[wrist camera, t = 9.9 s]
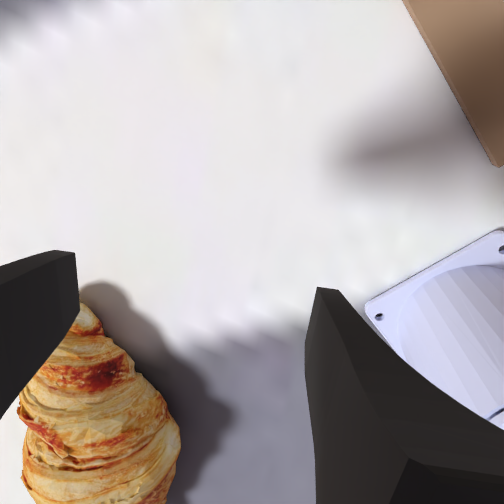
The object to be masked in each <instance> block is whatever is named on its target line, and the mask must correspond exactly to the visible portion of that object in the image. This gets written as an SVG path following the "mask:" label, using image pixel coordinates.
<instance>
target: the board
mask: <svg viewBox="0 0 504 504" xmlns="http://www.w3.org/2000/svg"><path fill="white" fill-rule="evenodd" d="M402 1H403V3H404V5H405V6H406V8H407V10H408V12H409V14H410V16H411V17H412V19H413V21H414V23H415V25H416V26H417V28H418V30H419V32H420V34H421V35H422V37H423V39H424V41H425V43H426V45H427V46H428V48H429V50H430V52H431V54H432V55H433V57H434V59H435V61H436V63H437V64H438V66H439V68H440V70H441V72H442V74H443V75H444V77H445V79H446V81H447V83H448V84H449V86H450V88H451V90H452V92H453V94H454V95H455V97H456V99H457V101H458V103H459V104H460V106H461V108H462V110H463V112H464V113H465V115H466V117H467V119H468V121H469V123H470V124H471V126H472V128H473V130H474V132H475V133H476V135H477V137H478V139H479V141H480V142H481V144H482V146H483V148H484V150H485V152H486V153H487V155H488V157H489V159H490V161H491V162H492V164H493V165H494V166H497V167H501V166H503V165H504V2H503V0H402Z"/></svg>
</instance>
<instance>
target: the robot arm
mask: <svg viewBox="0 0 504 504" xmlns="http://www.w3.org/2000/svg"><path fill="white" fill-rule="evenodd" d="M502 245H504V231H501V230H496V231H493V232H491V233H489V234H488V235H486V236H484V237H482V238H481V239H479V240H477V241H475V242H473V243H472V244H470V245H468V246H466V247H465V248H463V249H461V250H459V251H457V252H456V253H454V254H452V255H450V256H449V257H447V258H445V259H443V260H441V261H440V262H438V263H436V264H434V265H433V266H431V267H429V268H427V269H425V270H424V271H422V272H420V273H418V274H417V275H415V276H413V277H411V278H409V279H408V280H406V281H404V282H402V283H401V284H399V285H397V286H395V287H393V288H392V289H390V290H388V291H386V292H385V293H383V294H381V295H379V296H377V297H376V298H374V299H372V300H370V301H369V302H367V303H366V305H365V312H366V314H367V316H368V317H369V318H370V320H371V321H372V322H373V323H374V325H375V326H376V327H377V329H378V330H379V331H380V332H381V334H382V335H383V336H384V338H385V339H386V340H387V341H388V343H389V344H390V345H391V346H392V348H393V349H394V350H395V352H396V353H397V354H396V353H395V352H394V351H393V350H392V349H391V348H390V347H389V346H388V345H387V344H386V343H385V342H384V341H383V340H382V339H381V338H380V337H379V336H378V335H377V334H376V333H375V332H374V331H373V329H372V328H371V327H370V326H369V325H368V324H367V323H366V322H365V321H364V320H363V318H362V317H361V316H360V315H359V314H358V313H357V311H356V310H355V309H354V308H353V307H352V305H351V304H350V303H349V302H348V301H347V299H346V298H345V297H344V296H343V295H342V294H341V292H340V291H339V290H336V289H329V288H322V287H317V290H316V294H315V299H314V303H313V308H312V313H311V317H310V322H309V326H308V331H307V335H306V340H305V379H306V387H307V396H308V403H309V411H310V419H311V427H312V434H313V442H314V453H315V476H316V504H504V249H503V250H502V251H499V248H500V247H501V246H502ZM79 312H80V302H79V291H78V280H77V269H76V258H75V253H73V252H66V251H59V250H52V251H47V252H43V253H40V254H36V255H33V256H30V257H27V258H24V259H20V260H17V261H14V262H11V263H8V264H5V265H2V266H0V419H1V418H2V416H3V415H4V413H5V412H6V411H7V409H8V408H9V407H10V405H11V404H12V403H13V401H14V400H15V399H16V397H17V396H18V395H19V394H20V392H21V391H22V390H23V389H24V388H25V386H26V385H27V384H28V383H29V381H30V380H31V379H32V378H33V376H34V375H35V374H36V373H37V372H38V370H39V369H40V368H41V367H42V365H43V364H44V363H45V362H46V360H47V359H48V358H49V357H50V355H51V354H52V353H53V352H54V350H55V349H56V348H57V347H58V345H59V344H60V343H61V342H62V340H63V339H64V338H65V336H66V334H67V333H68V331H69V329H70V328H71V326H72V324H73V323H74V321H75V319H76V317H77V316H78V314H79ZM378 313H382V316H380V317H375V315H376V314H378Z"/></svg>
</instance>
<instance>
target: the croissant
mask: <svg viewBox="0 0 504 504" xmlns="http://www.w3.org/2000/svg"><path fill="white" fill-rule="evenodd" d="M79 302H80V301H79ZM134 365H135V362H134V361H133V360H132V359H131V358H130V356H129V355H128V354H127V353H126V351H125V350H123V349H121V348H120V347H119V346H117V345H115V344H114V343H113V339H111V338H108V337H105V334H104V330H103V328H102V324H101V321H100V320H99V319H98V318H97V317H96V316H95V315H94V313H93V312H92V311H91V310H90V309H89V308H88V307H87V306H86V305H84V304H83V303H81V302H80V312H79V314H78V316H77V317H76V319H75V321H74V323H73V324H72V326H71V328H70V329H69V331H68V333H67V334H66V336H65V338H64V339H63V340H62V342H61V343H60V344H59V345H58V347H57V348H56V349H55V350H54V352H53V353H52V354H51V355H50V357H49V358H48V359H47V360H46V362H45V363H44V364H43V365H42V367H41V368H40V369H39V370H38V372H37V373H36V374H35V375H34V376H33V378H32V379H31V380H30V381H29V383H28V384H27V385H26V386H25V388H24V389H23V390H22V391H21V392H20V394H19V398H20V402H19V404H20V407H18V408H17V414H18V415H19V418H20V419H21V420H22V421H23V422H24V423H25V424H26V425H27V426H28V429H27V432H26V436H25V439H24V445H23V470H22V476H21V479H22V481H23V483H24V485H25V487H26V488H27V490H28V492H29V494H30V495H31V497H32V498H33V499H34V501H35V503H36V504H165V503H166V501H167V499H166V495H167V493H168V490H169V487H170V485H171V483H172V481H173V478H174V476H175V472H176V461H177V459H178V456H179V453H180V450H181V439H180V432H179V427H178V425H177V423H176V422H175V420H174V419H173V417H172V416H171V414H170V413H169V411H168V407H167V403H166V401H165V400H164V398H163V397H162V395H161V394H160V393H159V392H158V390H157V391H156V389H155V388H154V387H153V386H152V385H151V384H150V383H149V382H148V381H147V380H146V379H145V378H144V377H143V376H142V373H137V372H136V371H135V369H134Z"/></svg>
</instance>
